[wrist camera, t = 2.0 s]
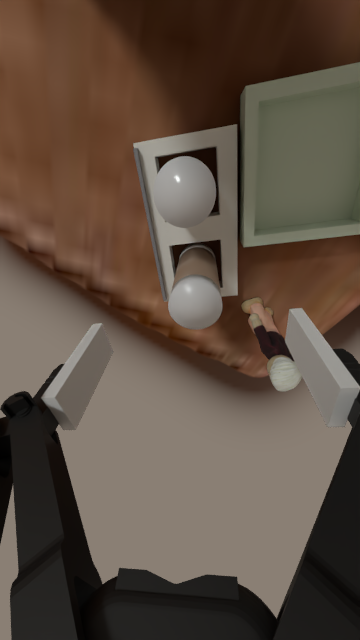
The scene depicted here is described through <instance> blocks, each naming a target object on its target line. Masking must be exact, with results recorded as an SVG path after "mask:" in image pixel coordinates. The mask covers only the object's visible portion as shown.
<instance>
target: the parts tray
mask: <svg viewBox="0 0 360 640" xmlns="http://www.w3.org/2000/svg"><path fill="white" fill-rule="evenodd" d="M358 234H360V62H358V63H353V64H349V65H344V66H339V67H334V68H329V69H325V70H320V71H315V72H310V73H306V74H301V75H296V76H291V77H286V78H282V79H277V80H272V81H267V82H262V83H258V84H253V85H248V86H245V88H244V90H243V92H242V94H241V95H240V241H241V243H242V245H243V247H252V246H260V245H269V244H278V243H287V242H296V241H305V240H313V239H322V238H331V237H340V236H349V235H358Z"/></svg>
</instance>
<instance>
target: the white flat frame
mask: <svg viewBox="0 0 360 640" xmlns="http://www.w3.org/2000/svg"><path fill="white" fill-rule="evenodd" d="M133 145H134V148H133V150H134V155H135V160H136V165H137V170H138V175H139V180H140V185H141V190H142V195H143V200H144V205H145V210H146V215H147V220H148V225H149V230H150V235H151V240H152V245H153V250H154V255H155V260H156V265H157V270H158V275H159V280H160V285H161V290H162V295H163V300H164V301H169V299H170V295H171V291H172V286H173V282H174V278H175V274H176V270H175V263H174V257H173V250H172V245H179V244H187V243H196V242H204V241H213V240H220V253H221V277H222V281H219V285H220V291H221V297H223V296H235V295H238V277H237V124H235V125H229V126H224V127H219V128H213V129H208V130H203V131H197V132H192V133H187V134H181V135H176V136H171V137H165V138H160V139H155V140H149V141H144V142H139V143H133ZM215 147H216V160H217V183H218V206H219V212H214V213H210V214H209V215H208V217H207V218H206V219H205V220H204V221H203V222H201V223H200V224H198V225H196V226H193V227H189V228H180V227H176V226H173V225H171V224H170V223H168V222H167V221H166V220H164V219H163V217H162V216H161V215H160V213H159V212H158V210H157V208H156V205H155V202H154V196H153V188H154V183H155V179H156V176H157V174H158V172H159V171H160V167H159V161H158V157H163V156H169V155H175V154H180V153H186V152H192V151H197V150H203V149H209V148H215Z"/></svg>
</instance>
